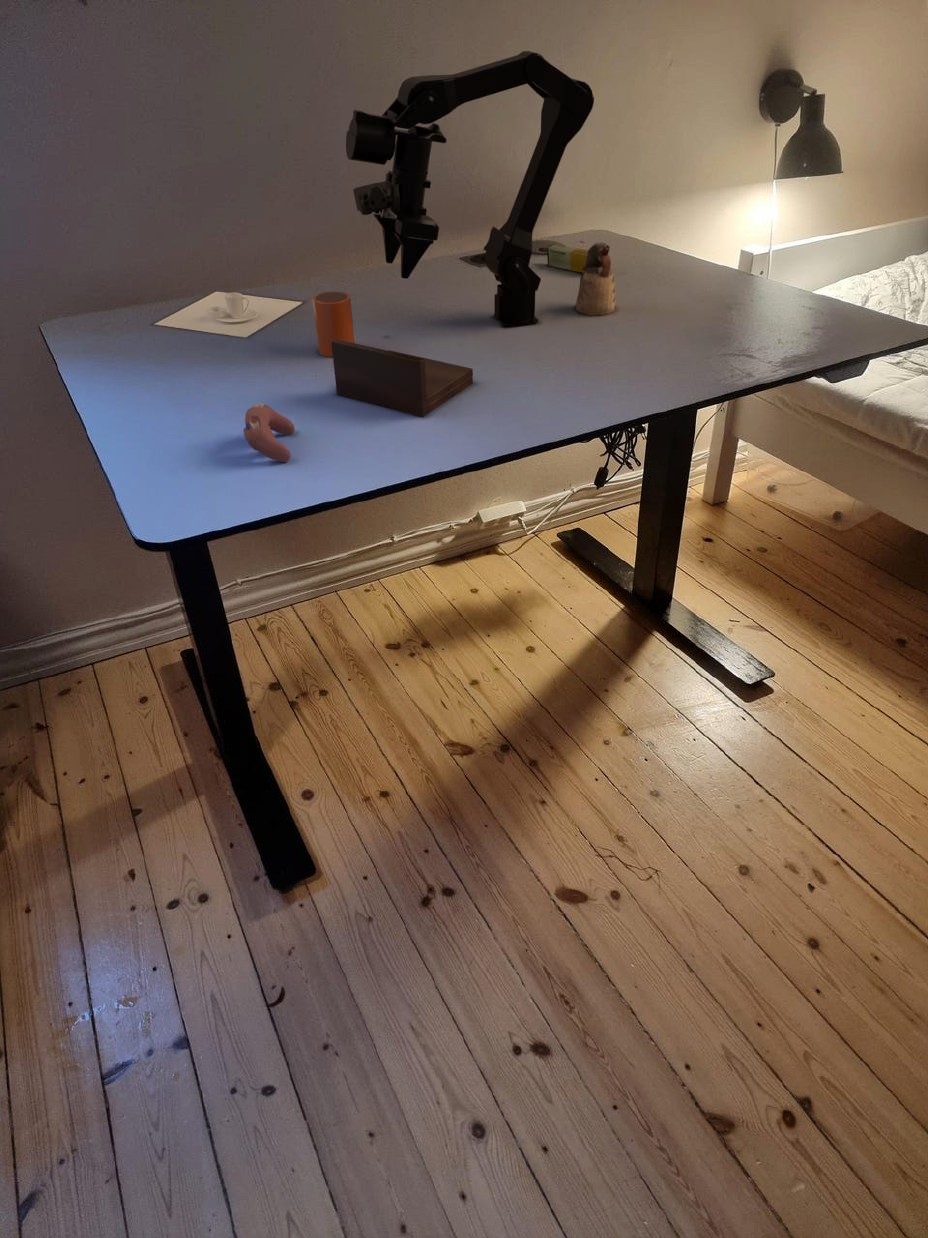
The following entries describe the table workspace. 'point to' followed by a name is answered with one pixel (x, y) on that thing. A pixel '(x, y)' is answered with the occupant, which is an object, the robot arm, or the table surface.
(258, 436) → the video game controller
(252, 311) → the teacup and saucer
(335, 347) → the dark brown wooden piece
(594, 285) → the figurine
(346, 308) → the cup
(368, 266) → the table surface
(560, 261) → the medication box
